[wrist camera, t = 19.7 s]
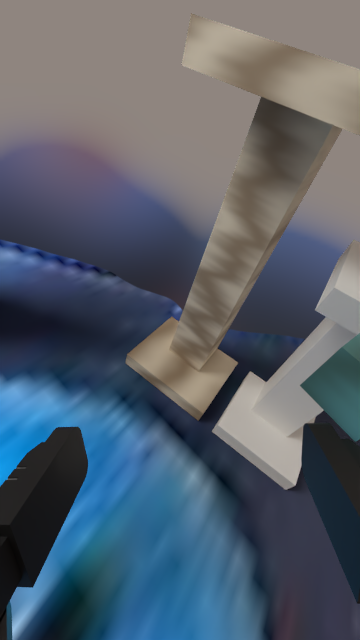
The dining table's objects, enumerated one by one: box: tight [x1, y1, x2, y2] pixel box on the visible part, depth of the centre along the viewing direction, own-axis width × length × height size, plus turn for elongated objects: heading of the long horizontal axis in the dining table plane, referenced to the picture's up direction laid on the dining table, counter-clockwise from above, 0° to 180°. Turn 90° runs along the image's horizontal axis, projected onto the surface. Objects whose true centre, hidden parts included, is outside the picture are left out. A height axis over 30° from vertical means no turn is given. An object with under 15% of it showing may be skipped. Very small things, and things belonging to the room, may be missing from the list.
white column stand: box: [212, 240, 360, 490], centre depth 27 cm, size 10×10×23 cm
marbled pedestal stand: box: [126, 14, 360, 421], centre depth 27 cm, size 12×10×32 cm
